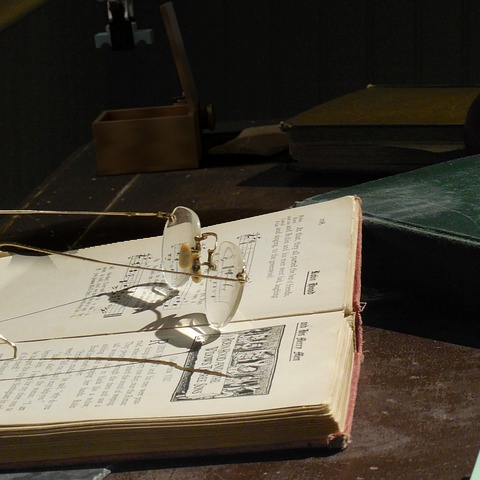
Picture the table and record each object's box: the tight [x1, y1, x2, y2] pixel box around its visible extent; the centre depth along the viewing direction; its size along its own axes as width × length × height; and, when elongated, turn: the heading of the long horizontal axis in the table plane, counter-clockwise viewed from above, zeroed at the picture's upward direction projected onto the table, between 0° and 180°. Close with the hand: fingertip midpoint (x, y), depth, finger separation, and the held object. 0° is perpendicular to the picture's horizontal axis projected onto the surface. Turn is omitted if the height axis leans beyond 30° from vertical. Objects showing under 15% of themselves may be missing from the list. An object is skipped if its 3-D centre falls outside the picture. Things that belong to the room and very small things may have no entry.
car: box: [94, 21, 155, 53], centre depth 140 cm, size 8×5×4 cm, turn 94°
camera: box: [172, 91, 217, 151], centre depth 158 cm, size 16×7×8 cm, turn 1°
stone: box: [206, 124, 290, 157], centre depth 149 cm, size 11×16×3 cm
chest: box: [91, 105, 203, 177], centre depth 144 cm, size 15×12×8 cm
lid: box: [159, 1, 200, 113], centre depth 141 cm, size 16×12×1 cm
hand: (125, 47), depth 140 cm, fingers closed on car, 4 cm apart
